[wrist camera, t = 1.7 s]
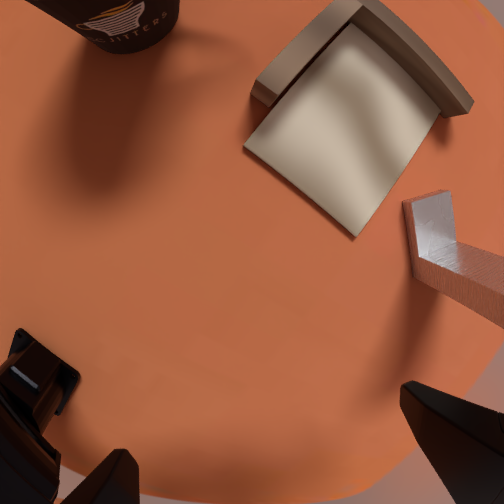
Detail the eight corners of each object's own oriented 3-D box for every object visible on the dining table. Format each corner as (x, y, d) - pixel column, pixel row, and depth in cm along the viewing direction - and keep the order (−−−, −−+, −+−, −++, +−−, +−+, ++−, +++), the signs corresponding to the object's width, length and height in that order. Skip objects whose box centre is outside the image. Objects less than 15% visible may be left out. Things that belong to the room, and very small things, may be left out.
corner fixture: (361, 242, 21) (381, 252, 18) (220, 129, 18) (221, 119, 15) (450, 106, 19) (474, 101, 16) (340, 0, 17) (355, -19, 14)
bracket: (412, 276, 22) (532, 347, 10) (402, 201, 20) (545, 230, 8) (448, 260, 22) (565, 314, 10) (440, 189, 21) (574, 210, 9)
